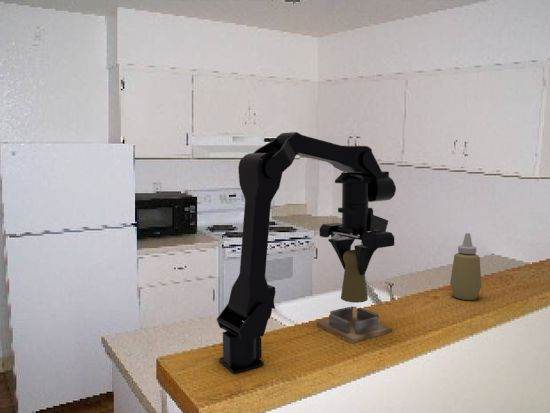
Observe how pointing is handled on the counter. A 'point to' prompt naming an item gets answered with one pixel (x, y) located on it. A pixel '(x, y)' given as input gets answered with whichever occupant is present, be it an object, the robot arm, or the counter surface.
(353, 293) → the cork
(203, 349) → the counter surface
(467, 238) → the squeeze bottle
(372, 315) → the clip holder
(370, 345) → the counter surface
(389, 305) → the counter surface
